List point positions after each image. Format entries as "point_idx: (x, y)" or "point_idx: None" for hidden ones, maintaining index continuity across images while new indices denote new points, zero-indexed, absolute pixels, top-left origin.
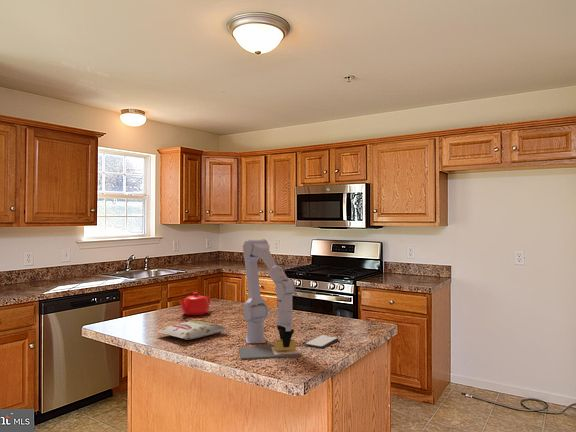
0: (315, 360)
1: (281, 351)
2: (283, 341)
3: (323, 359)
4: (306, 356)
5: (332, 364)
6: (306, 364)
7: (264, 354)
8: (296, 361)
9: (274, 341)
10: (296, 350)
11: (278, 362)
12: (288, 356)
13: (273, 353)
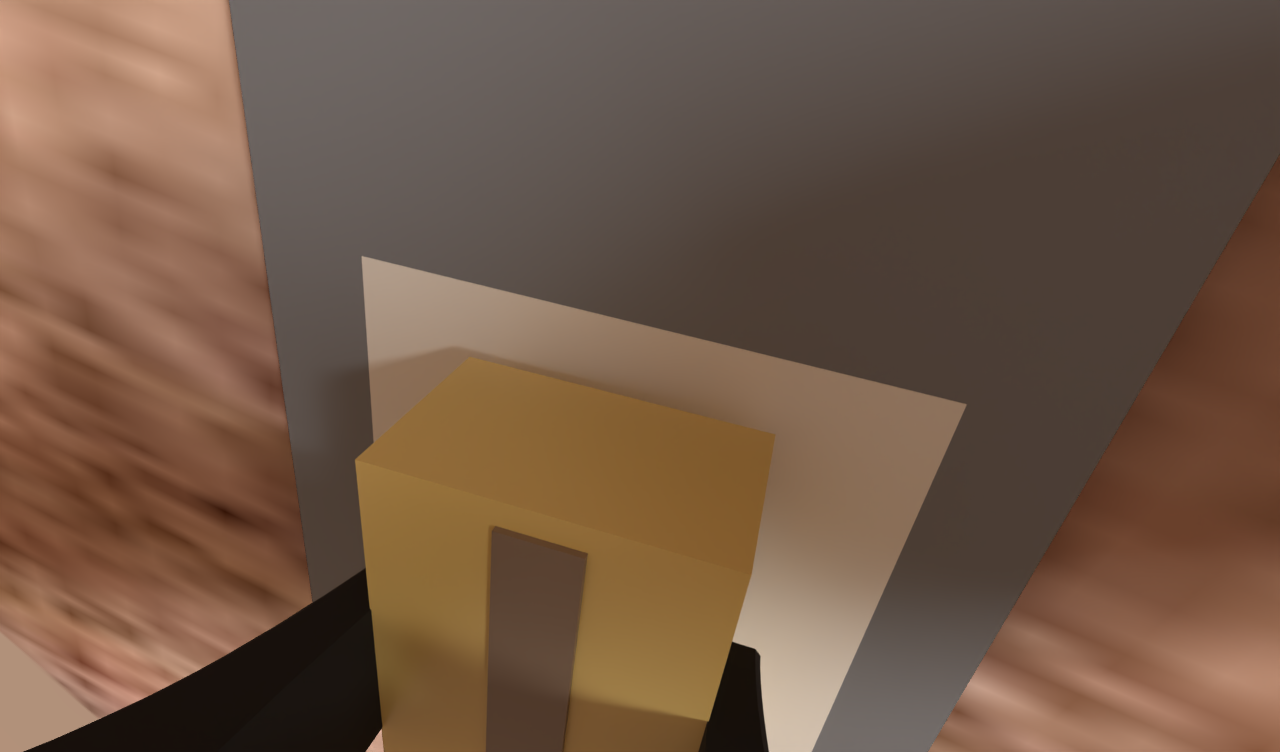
0: (182, 647)
1: None
2: (282, 630)
3: None
4: None
5: (79, 693)
6: (37, 501)
7: (394, 15)
8: (130, 454)
9: (643, 515)
10: None
11: (53, 182)
12: (306, 453)
13: (438, 264)
